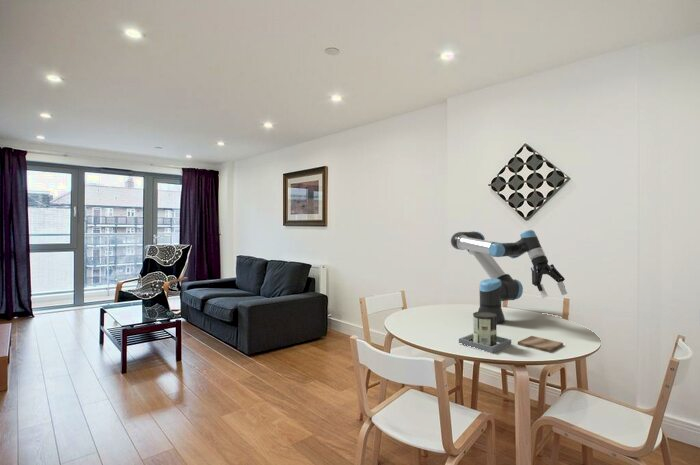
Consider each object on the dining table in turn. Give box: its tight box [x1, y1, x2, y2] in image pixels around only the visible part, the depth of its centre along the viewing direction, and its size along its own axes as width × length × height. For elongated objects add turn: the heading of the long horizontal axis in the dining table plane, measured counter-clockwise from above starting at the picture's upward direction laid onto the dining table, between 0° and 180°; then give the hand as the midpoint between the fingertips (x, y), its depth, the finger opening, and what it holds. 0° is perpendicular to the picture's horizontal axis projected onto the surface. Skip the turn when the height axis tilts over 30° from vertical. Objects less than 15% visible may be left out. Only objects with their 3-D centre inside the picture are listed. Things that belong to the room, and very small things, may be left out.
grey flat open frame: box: [458, 332, 512, 354], centre depth 168 cm, size 17×17×2 cm
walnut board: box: [517, 335, 564, 353], centre depth 166 cm, size 14×14×1 cm
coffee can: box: [472, 311, 498, 347], centre depth 168 cm, size 10×10×14 cm
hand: (555, 295), depth 185 cm, fingers open, 13 cm apart
